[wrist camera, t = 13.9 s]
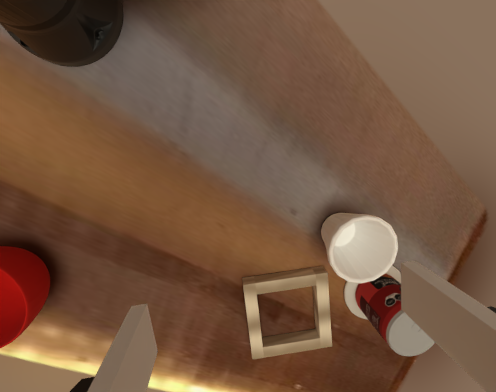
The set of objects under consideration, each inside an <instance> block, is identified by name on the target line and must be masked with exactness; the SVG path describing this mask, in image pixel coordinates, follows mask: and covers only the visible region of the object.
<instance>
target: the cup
mask: <svg viewBox="0 0 496 392" xmlns="http://www.w3.org/2000/svg"><path fill="white" fill-rule="evenodd" d="M321 235H322V239H323V241H324V243H325V246H326V250H327V256H328V262H329V263H330V265H331V266H332V268H333V269H334V271H335V272H336V274H337V275H338V276H340V277H341V278H343V279H345V280H346V281H348V282H354V283H366V282H370V281H374V280H376V279H377V278H379V277H380V276H382V275H383V274H385V273H386V272H387V271H388V269H389V268H390V267H391V266H392V264H393V263H394V261H395V258H396V254H397V251H398V243H397V235H396V234H395V232H394V230H393V229H392V227H391V225H390V224H388V223H387V222H385V221H384V220H382V219H381V218H379V217H377V216H372V215H367V214H351V213H336V214H333V215H331V216H330V217H328V218H327V219H326V220H325V222H324V223H323V225H322V229H321Z"/></svg>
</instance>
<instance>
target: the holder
mask: <svg viewBox="0 0 496 392" xmlns="http://www.w3.org/2000/svg"><path fill="white" fill-rule="evenodd" d="M242 281H243V289H244V297H245V305H246V313H247V321H248V328H249V336H250V344H251V352H252V359H258V358H264V357H270V356H276V355H282V354H289V353H295V352H301V351H307V350H313V349H319V348H325V347H331V346H332V338H331V321H330V305H329V288H328V273H327V271H326V270H325V269H324V267H323V266H319V267H312V268H305V269H299V270H292V271H285V272H278V273H271V274H264V275H258V276H251V277H244V278H242ZM309 286H312V287H313V300H314V314H315V328H316V329H311V330H305V331H299V332H293V333H286V334H280V335H274V336H268V337H262V336H261V327H260V319H259V310H258V301H257V294H263V293H270V292H276V291H283V290H290V289H296V288H303V287H309Z"/></svg>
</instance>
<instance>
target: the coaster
mask: <svg viewBox="0 0 496 392" xmlns="http://www.w3.org/2000/svg"><path fill="white" fill-rule="evenodd" d="M385 274H388V275H390V276H392V277H393V278H395V279H396V280H397V281H398V282H399V283H401V273H400V272H399V270H397V269H396V268H395V267H394V266H391V267H390V268H389V269H388V271H387V272H386V273H385ZM358 284H359V283H354V282H348V281H346V283H345V286H344V300H345V303H346V305H347V306H348V308H349V309H350V310H351V312H352V313H354V314H355V315H356V316H358V317H360V318H364V319H367V317H366V316H365V315H364V313H363V312H362V311H361V310H360V308H359V307H358V305H357V302H356V298H355V293H356V289H357V286H358Z"/></svg>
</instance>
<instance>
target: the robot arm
mask: <svg viewBox="0 0 496 392" xmlns="http://www.w3.org/2000/svg"><path fill="white" fill-rule="evenodd" d="M122 21H123V5H122V0H0V24H1V25H2V26H3V27H4V28H5V29H6V30H7V32H8V33H9V34H10V35H11V36H12V37H13V38H14V40H16V41H17V42H18V43H19V44H20V45H21V46H22V47H24V48H25V49H26V50H28V51H29V52H31V53H32V54H34V55H36V56H38V57H40V58H42V59H45V60H47V61H49V62H52V63H55V64H58V65H63V66H82V65H87V64H90V63H92V62H95V61H97V60H98V59H100V58H102V57H103V56H104V55H105V54H107V53H108V52H109V50H110V49H111V48H112V47H113V45H114V44H115V42H116V41H117V39H118V36H119V34H120V31H121V27H122ZM401 309H402V310H403V311H404V312H405V313H406V314H407V315H408V316H409V317H410V318H411V319H412V320H413V321H414V322H415V323H416V324H417V325H418V326H419V327H420V328H421V329H422V330H423V331H424V332H425V333H426V334H427V335H428V336H429V337H430V338H431V339H432V340H433V341H434V342H435V343H437V344H438V345H439V346H440V347H441V348H442V349H443V350H444V351H445V352H446V353H447V354H448V355H449V356H450V357H451V358H452V359H453V360H454V361H455V362H456V363H457V364H458V365H459V366H460V367H461V368H462V369H463V370H464V371H465V372H467V374H468V375H469V376H470V377H471V378H473V379H474V380H475V381H476V382H477V383H478V384H479V385H480V386H481V387H482V388H483V389H484V390H485V391H486V392H496V308H494V307H485V306H484V305H482V304H481V303H479V302H478V301H476V300H475V299H473V298H472V297H470V296H468V295H467V294H465V293H464V292H462V291H461V290H459V289H458V288H456V287H455V286H453V285H452V284H450V283H449V282H447V281H446V280H444V279H443V278H441V277H439V276H438V275H436V274H435V273H433V272H432V271H430V270H429V269H427V268H426V267H424V266H423V265H421V264H420V263H418V262H417V261H409V262H402V263H401ZM157 352H158V350H157V346H156V341H155V337H154V332H153V328H152V324H151V319H150V315H149V310H148V306H147V304H142V305H136V306H131V308H130V310H129V312H128V314H127V316H126V318H125V320H124V321H123V323H122V325H121V327H120V329H119V331H118V333H117V335H116V337H115V339H114V341H113V343H112V345H111V347H110V349H109V351H108V353H107V354H106V356H105V358H104V360H103V362H102V364H101V366H100V368H99V370H98V372H97V374H96V376H95V377H91V378H85V379H82V380H81V381H80V382H79V383H78V384H77V385H76V386H75V387H74V388H73V389H72V390H71V391H70V392H146V390H147V387H148V383H149V380H150V376H151V373H152V369H153V366H154V362H155V359H156V355H157Z"/></svg>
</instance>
